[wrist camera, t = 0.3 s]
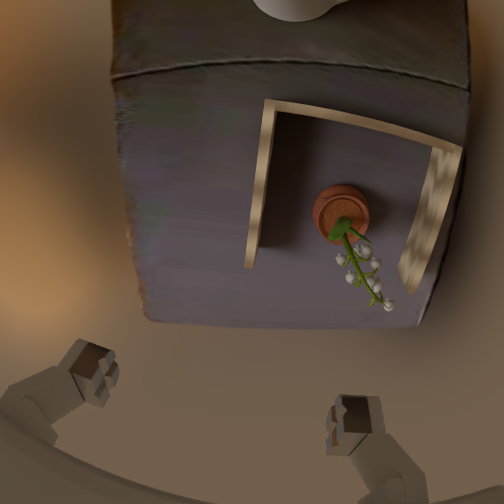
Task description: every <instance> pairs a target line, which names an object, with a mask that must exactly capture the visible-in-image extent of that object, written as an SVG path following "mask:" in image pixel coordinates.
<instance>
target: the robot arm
mask: <svg viewBox="0 0 504 504" xmlns="http://www.w3.org/2000/svg"><path fill="white" fill-rule="evenodd" d="M253 1H254V2H255V4H256V5H257V6H258V7H259V8H260V9H261V10H262V11H264V12H265V13H267V14H268V15H270V16H272V17H274V18H277V19H280V20H284V21H291V22H301V21H308V20H312V19H315V18H318V17H320V16H321V15H323V14H325V13H326V12H327V11H328V10H329V9H331V8H332V7H333V6H334V5H336V4H340V3H343V2H346V1H348V0H253ZM115 357H116V356H115V352H114V351H113V350H110V349H107V348H104V347H101V346H98V345H96V344H93V343H91V342H88V341H85V340H82V339H78V340H77V341H75V343H74V344H73V345H72V347H71V348H70V349H69V351H68V352H67V354H66V355H65V356H64V358H63V359H62V360H61V362H60V363H59V365H58V366H57V367H56V366H52V367H50V368H48V369H46V370H44V371H42V372H39V373H37V374H35V375H32V376H30V377H28V378H26V379H24V380H22V381H19V382H17V383H15V384H13V385H10V386H9V387H8V389H7V390H6V391H5V393H4V394H3V396H2V397H1V398H0V504H214V503H210V502H205V501H200V500H196V499H192V498H187V497H183V496H179V495H175V494H172V493H169V492H165V491H162V490H158V489H155V488H152V487H149V486H145V485H142V484H139V483H136V482H133V481H131V480H128V479H125V478H123V477H120V476H117V475H115V474H112V473H110V472H107V471H105V470H102V469H100V468H98V467H95V466H93V465H91V464H89V463H86V462H84V461H82V460H80V459H78V458H76V457H73V456H72V455H70V454H68V453H66V452H63V451H62V450H60V449H58V448H56V447H54V444H55V442H56V440H57V438H58V435H57V433H56V431H55V430H54V429H53V428H52V426H51V424H53V423H54V422H56V421H57V420H59V419H61V418H62V417H64V416H65V415H67V414H68V413H70V412H71V411H73V410H74V409H76V408H77V407H79V406H80V405H82V404H83V403H84V401H85V402H87V403H90V404H93V405H95V406H98V407H101V408H104V406H105V404H106V402H107V400H108V398H109V396H110V394H109V390H110V389H111V388H113V387H115V385H116V383H117V380H118V377H119V367H118V364H117V363H116V362H115V361H114V359H115ZM326 430H327V431H328V432H329V434H330V435H329V437H328V438H327V440H326V443H327V455H336V456H349V457H348V458H349V459H350V461H351V463H352V464H353V466H354V467H355V469H356V470H357V472H358V474H359V475H360V477H361V478H362V480H363V482H364V483H365V485H366V486H367V488H368V489H369V491H370V493H369V494H367V495H366V496H364V497H363V498H361V499H360V500H359V501H358V504H504V486H503V485H495V486H492V487H489V488H486V489H483V490H479V491H476V492H473V493H470V494H466V495H463V496H459V497H455V498H452V499H447V500H443V501H438V502H434V503H429V500H428V492H427V485H426V478H425V474H424V472H423V471H422V470H421V469H420V468H419V467H418V466H417V464H416V463H415V462H414V461H413V460H412V459H411V458H410V457H409V455H408V454H407V453H406V452H405V451H404V450H403V449H402V447H401V446H400V445H399V444H398V443H397V442H396V440H395V439H394V438H393V437H392V436H391V435H390V434H386V431H385V424H384V418H383V412H382V406H381V401H380V398H379V397H377V396H363V395H343V394H340V395H338V396H337V397H336V399H335V405H334V406H331V408H330V410H329V412H328V416H327V421H326Z"/></svg>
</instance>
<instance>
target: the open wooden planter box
mask: <svg viewBox="0 0 504 504" xmlns="http://www.w3.org/2000/svg"><path fill="white" fill-rule="evenodd" d="M277 111H282V112H289V113H295V114H301V115H307V116H313V117H318V118H324V119H329V120H334V121H338V122H343V123H348V124H352V125H357V126H361V127H365V128H369V129H373V130H377V131H381V132H385V133H389V134H392V135H396V136H400V137H403V138H407V139H410V140H413V141H417V142H420V143H423V144H426V145H429V146H432V147H433V148H432V153H431V157H430V162H429V166H428V170H427V174H426V178H425V182H424V186H423V189H422V193H421V197H420V200H419V204H418V207H417V211H416V214H415V217H414V220H413V224H412V227H411V230H410V233H409V236H408V239H407V242H406V245H405V248H404V251H403V254H402V257H401V259H400V262H399V265H398V268H397V272H398V274H399V276H400V278H401V280H402V282H403V284H404V286H405V288H406V290H407V292H408V293H413V294H415V292H416V290H417V287H418V285H419V283H420V280H421V278H422V276H423V273H424V271H425V268H426V266H427V263H428V260H429V258H430V255H431V253H432V250H433V247H434V244H435V242H436V239H437V236H438V233H439V230H440V227H441V224H442V221H443V218H444V215H445V212H446V209H447V205H448V202H449V199H450V195H451V192H452V188H453V185H454V181H455V177H456V173H457V170H458V166H459V161H460V157H461V153H462V148H463V147H460V146H458V145H455V144H452V143H450V142H447V141H444V140H441V139H438V138H435V137H432V136H429V135H426V134H423V133H420V132H417V131H414V130H411V129H407V128H404V127H401V126H397V125H394V124H390V123H386V122H383V121H379V120H375V119H371V118H367V117H363V116H359V115H354V114H350V113H345V112H341V111H336V110H331V109H326V108H321V107H315V106H310V105H304V104H298V103H292V102H285V101H278V100H270V99H265V104H264V112H263V120H262V128H261V135H260V143H259V151H258V159H257V167H256V175H255V183H254V191H253V200H252V208H251V216H250V224H249V232H248V240H247V249H246V257H245V265H244V267H245V268H251V269H253V267H254V263H255V259H256V255H257V251H258V247H259V240H260V232H261V225H262V218H263V211H264V204H265V197H266V189H267V182H268V175H269V168H270V160H271V153H272V146H273V138H274V131H275V123H276V116H277Z"/></svg>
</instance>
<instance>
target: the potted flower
mask: <svg viewBox="0 0 504 504" xmlns="http://www.w3.org/2000/svg"><path fill="white" fill-rule="evenodd" d="M312 218H313V222H314V224H315V226H316V228H317V229H318V231H319V232H320V234H321V235H322V236H323V238H324V239H326V240H327V241H329V242H330V243H333V244H336V245H344V246H345V248H346V251H347V253H348V258H346V257H345V255H346V254H343V255H341V254H340V253H339V254H338V257H336V260H337V263H338V264H339V265H343V266H344V267H345V266H346V265H347V264H348V262H349V260H350V259H351V262H352V264H353V266H354V267H355V269H356V271H357V273H358V275H359V276H358V280H357V276H356V272H353V273H352V271H350V270H349V271H348V274H346V275H345V277H346V280H347V282H348V283H353V285H354V286H355V285H357V284H358V285H357V288H359V287H360V284H361V280H362V282H363V283H364V285H365V287H366V288H367V290H368V291H369V293H370V294H371V295H372V297H373V298H372V301H371V304H369V303H368V302H367V304H368V305H369V306H372V304H373V303H374V301H375V300H376V301H378V302H379V303H382V304H383V305H384V308H385V310H386V311H392V310H393V309H394V300H391V301H390V300H389V299H388V298H387V300H386V302H385V303H384V302H383V296H382V294H381V292H380V291H381V290H382V288H383V283H382V281H380V279H379V278H380V277H377V278H375V277H374V273H375V272H376V271H377V270H380V269H381V266H382V263H381V262H380V261H381V259H378V260H377V259H376V258H373V262H370V265H371V268H372V269H373V270H374V271H373V272H372V273H362V272H361V270H360V267H359V265H358V263H357V262H364V261H368V260H370V258H371V256H372V255H373V249H372V248H371V247H370V245H367V246H365V245H364V244H362V245H361V247H360V245H359V244H357V245H356V248H354V249H353V248H352V247H351V245H350V244H352V243H354V242H356V241H358V240H359V239H360V238H362V239H363V240H364V241H366V242H368V243H370V244H372V243H371V242H370V241H369V240H368V239H367V238H366V237H365V236H363V235H364V234H365V233H366V231H367V229H368V226H369V221H370V217H369V210H368V205H367V202H366V199H365V197H364V196H363V195H362V193H361V192H360V191H358V190H357V189H356V188H354V187H352V186H349V185H343V184H338V185H333V186H330V187H328V188H326V189H324V190H323V191H322V192H320V193H319V195H318V196H317V197H316V199H315V201H314V203H313V206H312ZM354 254H355V255H356V256H357V257H359V258H358V259H356V258H355V256H354ZM362 257H364V258H368V259H360V258H362ZM364 276H365V277H364ZM356 280H357V283H356V284H354V282H356ZM374 292H379V293H380V297H381V299H379V298H378V297H377V296H376V295H375V293H374ZM374 299H375V300H374ZM389 307H390V308H389Z"/></svg>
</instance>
